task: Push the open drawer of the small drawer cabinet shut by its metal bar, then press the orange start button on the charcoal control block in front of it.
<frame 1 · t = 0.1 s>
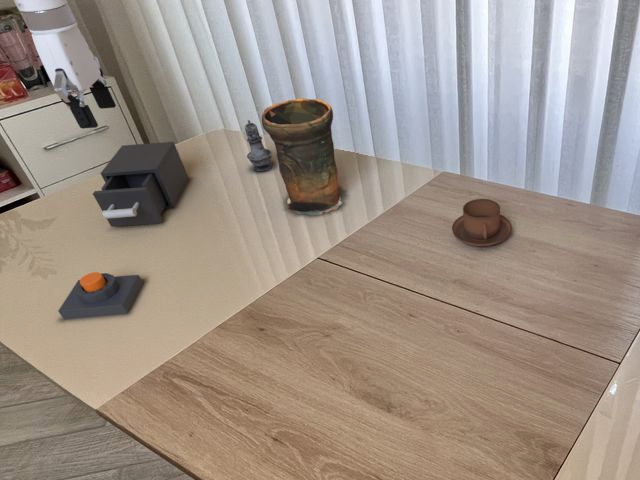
hand: (99, 117, 108), 21 cm above the table, tool pointing down, fingers open, 9 cm apart
dark grey drawer: (133, 198, 118), point 5 cm above the table, slide at 6.0 cm
start button: (93, 282, 97), point 4 cm above the table, slide at 0.1 cm
small drawer cabinet: (157, 196, 128), on the table
cup and saucer: (481, 235, 112), on the table
grey chess piece: (263, 168, 136), on the table
vessel: (318, 200, 124), on the table
control block: (105, 301, 100), on the table
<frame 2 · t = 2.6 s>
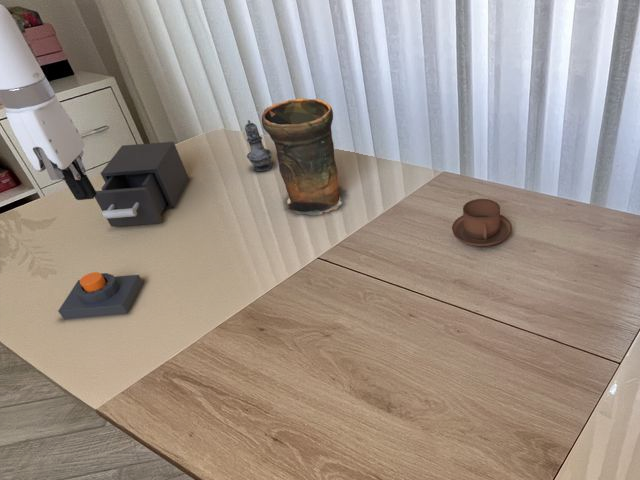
hand: (87, 197, 101), 14 cm above the table, tool pointing down, fingers closed
nothing on the table moved.
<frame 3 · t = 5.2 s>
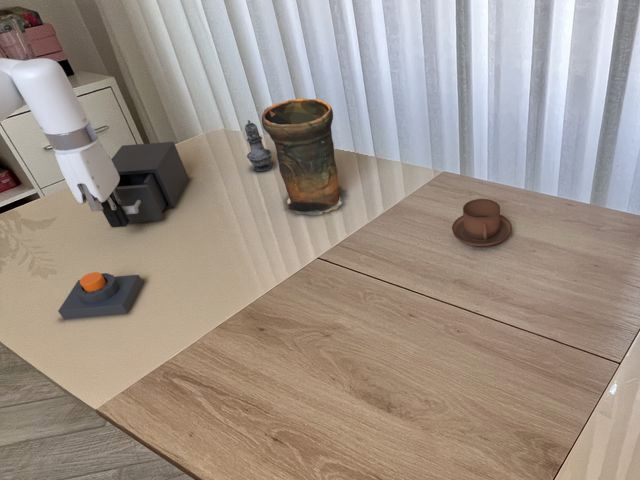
hand: (120, 224, 112), 4 cm above the table, tool pointing down, fingers closed
dark grey drawer: (135, 196, 118), point 5 cm above the table, slide at 4.9 cm, touching gripper
everything else where it was.
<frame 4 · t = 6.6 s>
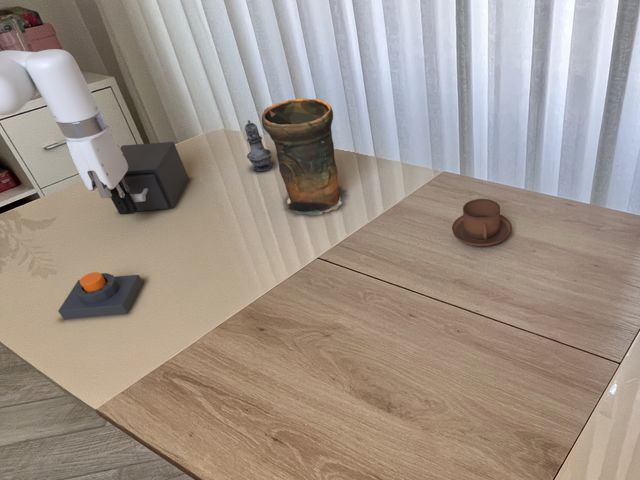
hand: (128, 211, 115), 4 cm above the table, tool pointing down, fingers closed
dark grey drawer: (142, 185, 122), point 5 cm above the table, slide at 0.0 cm, touching small drawer cabinet, gripper
everything else where it was.
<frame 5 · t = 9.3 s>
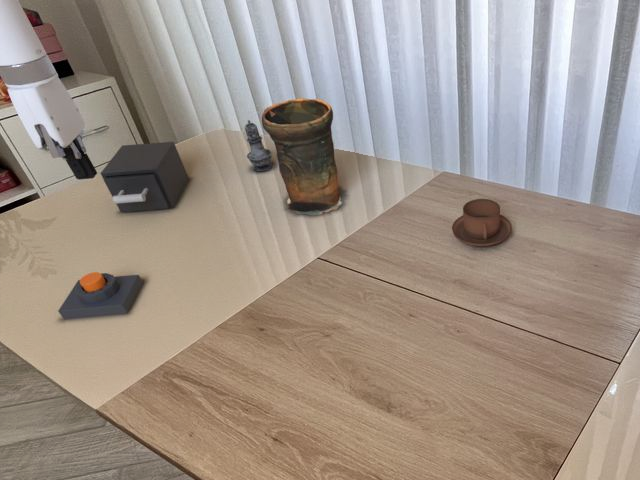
hand: (87, 176, 101), 16 cm above the table, tool pointing down, fingers closed
dark grey drawer: (142, 185, 122), point 5 cm above the table, slide at 0.0 cm, touching small drawer cabinet
everything else where it was.
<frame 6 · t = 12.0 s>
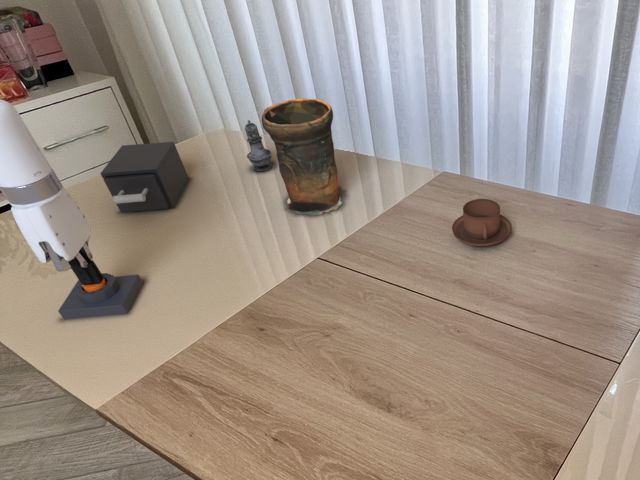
hand: (93, 281, 97), 5 cm above the table, tool pointing down, fingers closed
start button: (95, 285, 98), point 4 cm above the table, slide at -0.7 cm, touching gripper
everything else where it was.
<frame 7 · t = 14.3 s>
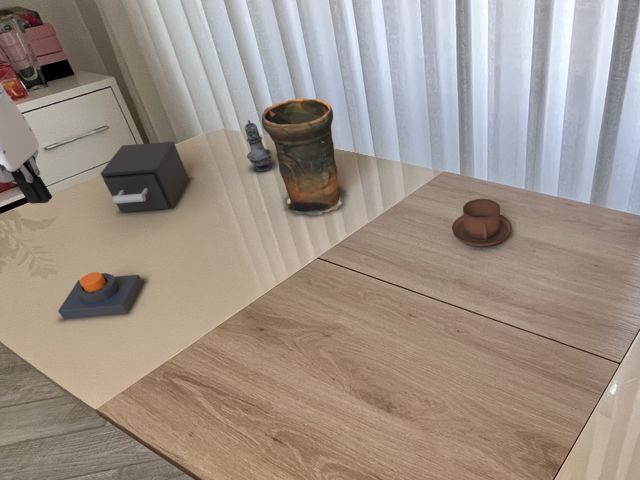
hand: (41, 200, 93), 17 cm above the table, tool pointing down, fingers closed
start button: (93, 282, 97), point 4 cm above the table, slide at 0.1 cm
everything else where it was.
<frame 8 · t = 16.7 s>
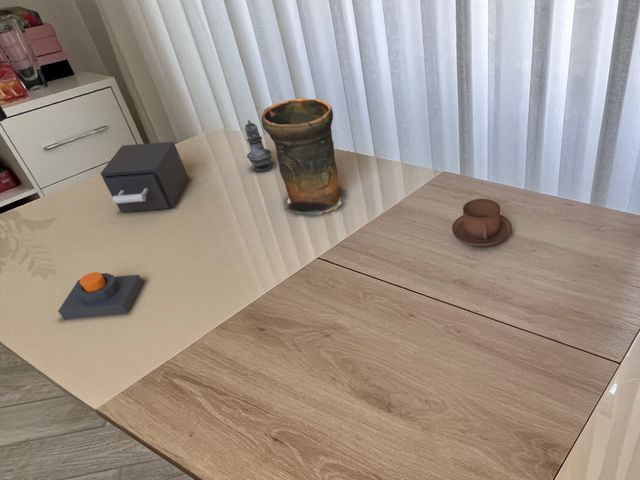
nothing on the table moved.
at the end: dark grey drawer slide at 0.0 cm; start button pushed in 1.1 cm at the most during the clip, back to where it started at the end; start button slide at 0.1 cm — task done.
